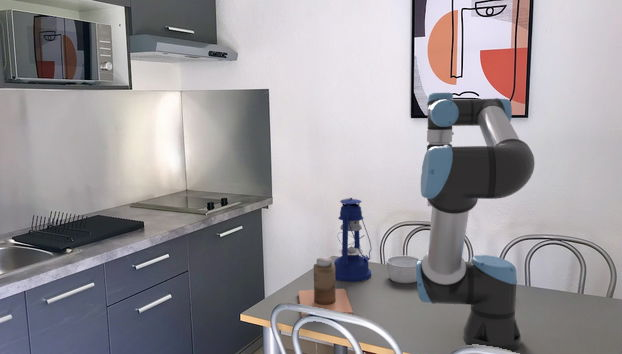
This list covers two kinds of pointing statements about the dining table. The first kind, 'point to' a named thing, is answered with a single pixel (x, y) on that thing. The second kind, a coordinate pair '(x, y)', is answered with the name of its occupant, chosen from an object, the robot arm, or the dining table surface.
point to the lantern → (350, 262)
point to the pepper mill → (324, 281)
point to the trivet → (340, 305)
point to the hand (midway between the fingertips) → (438, 210)
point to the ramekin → (402, 268)
